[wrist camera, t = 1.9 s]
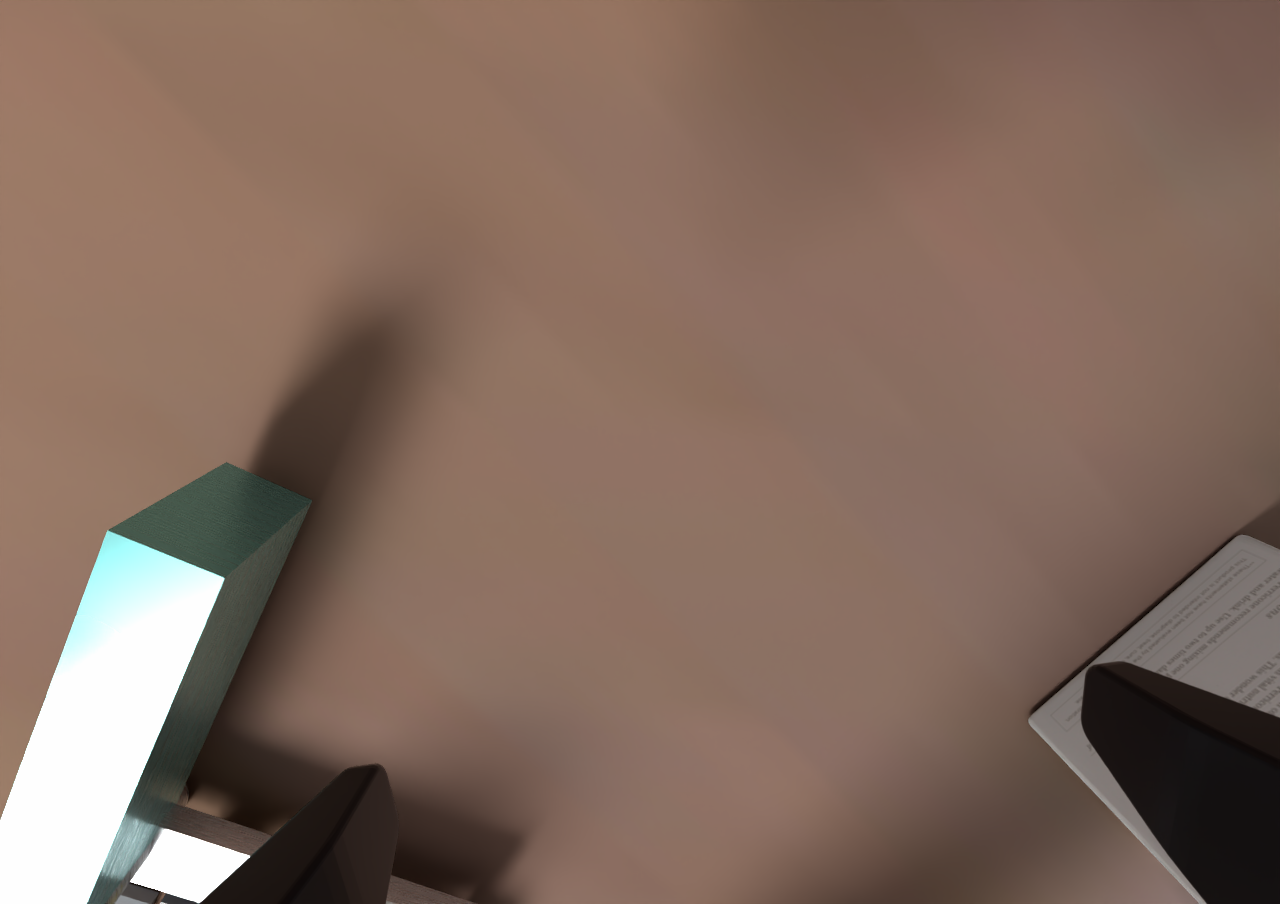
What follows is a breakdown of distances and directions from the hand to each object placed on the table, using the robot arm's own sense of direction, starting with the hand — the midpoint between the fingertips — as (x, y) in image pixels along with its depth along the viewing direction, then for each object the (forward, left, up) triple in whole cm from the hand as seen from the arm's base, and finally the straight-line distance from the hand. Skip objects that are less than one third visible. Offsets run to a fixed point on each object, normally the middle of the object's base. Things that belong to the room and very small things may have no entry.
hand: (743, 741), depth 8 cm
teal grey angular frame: (+4, +11, -10) cm, 15 cm away
